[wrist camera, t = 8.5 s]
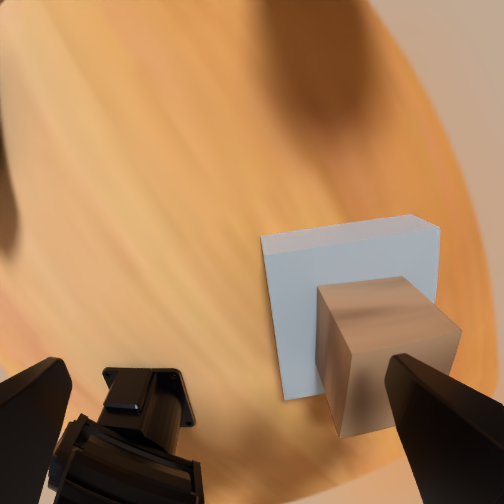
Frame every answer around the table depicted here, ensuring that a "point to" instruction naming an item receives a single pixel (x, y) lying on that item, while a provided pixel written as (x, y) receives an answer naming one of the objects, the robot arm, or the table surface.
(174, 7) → the table surface
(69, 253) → the table surface
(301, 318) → the slate block
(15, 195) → the table surface
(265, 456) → the table surface
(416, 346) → the walnut block
